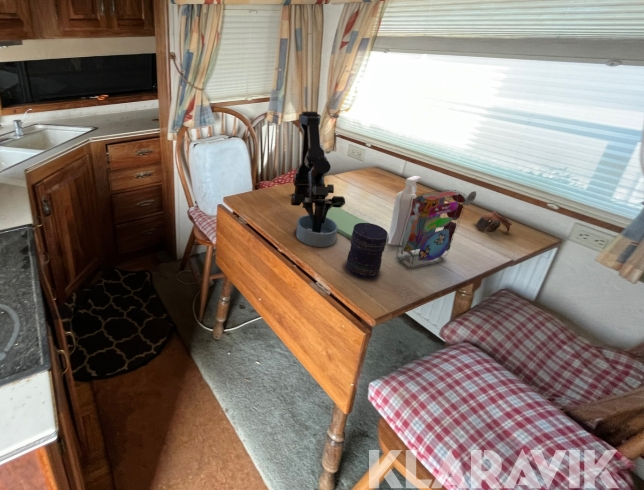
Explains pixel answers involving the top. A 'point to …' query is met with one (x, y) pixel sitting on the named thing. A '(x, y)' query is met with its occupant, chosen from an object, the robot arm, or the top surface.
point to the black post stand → (317, 218)
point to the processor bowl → (316, 238)
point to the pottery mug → (492, 222)
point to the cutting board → (344, 221)
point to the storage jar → (366, 250)
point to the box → (432, 224)
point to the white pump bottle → (402, 211)
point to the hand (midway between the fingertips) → (318, 223)
